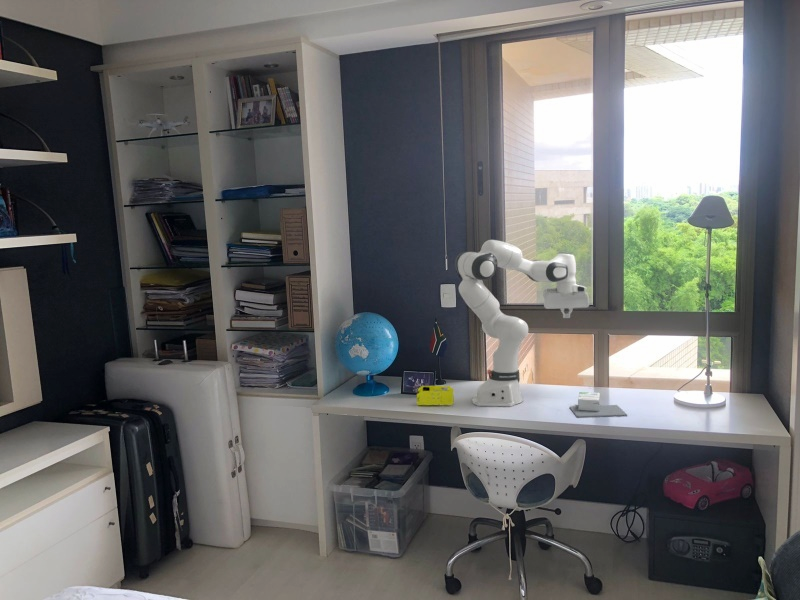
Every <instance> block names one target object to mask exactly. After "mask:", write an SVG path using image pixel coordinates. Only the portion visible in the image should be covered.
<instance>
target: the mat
mask: <svg viewBox="0 0 800 600" xmlns="http://www.w3.org/2000/svg"><path fill="white" fill-rule="evenodd" d="M569 409H570V410H571V411H572V413H573V414H574V415H575V417H576V418H578V419H579V418H601V417H602V418H607V417H627V416H628V413H626V412H625V411H624V410H623V409H622V408H621V407H620V406H619V405H618V404H607V405H606V404H605V405H603V404H602V405H601V404H600V406H599V411H587V410H578V405H575V406H571V405H570V406H569Z"/></svg>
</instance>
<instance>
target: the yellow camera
mask: <svg viewBox="0 0 800 600" xmlns="http://www.w3.org/2000/svg"><path fill="white" fill-rule="evenodd" d="M454 397H455V396H454V388H453V387H452V386H450V385H420V387H419V388H417V393H416V405H417V406H433V407H434V406H445V407H446V406H453V405H454V402H455V401H454Z"/></svg>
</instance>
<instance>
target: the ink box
mask: <svg viewBox="0 0 800 600" xmlns="http://www.w3.org/2000/svg"><path fill="white" fill-rule="evenodd" d="M600 395H601V394H600V392H585V391H584V392H583V391H582V392H579V394H578V397H577V406H578V410H587V411H599V406H600V405H601V396H600Z"/></svg>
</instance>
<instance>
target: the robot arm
mask: <svg viewBox="0 0 800 600" xmlns="http://www.w3.org/2000/svg"><path fill="white" fill-rule="evenodd" d="M523 255H524V254H523V251H522V250H521V249H520V248H519V247H518V246H516V245H514V244H511V243H508V242H505V241H502V240H497V239H488V240H486V241H484V243H483V244H482V245H481V249H480V251H478V252H475V251H468V250H467V251H463V252H461V253H459V254H458V255H457V256H456V258H455V261H454V265H455V269H456V271H457V275H458V278H459V279H460V280H462V281H460V283H459V285H458V292H459V294H460V296H461V298H462V299H463V301H464V302H465V304H466V305H467V306H468V307H469V308H470V309H471V311H472V312H473V313H474V314H475V315H476V316H477V317H478V319H479V320H480V321H481V330H482V331H483V333H485V335H487V336H489V337H490V338H493V339H497V340H499V341H498V345H497V348H496V349H495V350H494V351H493V353H492V370H491V369H488V370H487V371H486V373H487V375H488V379H487V380H485V381H484V382H483V383H481V384H480V385H479V386H478V388H477V391H476V395H474V396H473V397H472V399H471V400H472V401H471V402H472V403H473V405H475V406H477V407H513V406H514V405H517V404H520V403H522V402H524V399H523V397H522V394H521V388H520V379H521V377H520V369H519V351H520V347H521V345H522V342H523V341H524V340H525V339H526V338H527V336H528V334H529V325H528V323H527V322H526V321H525V320H523V319H522V318H519V317H518V316H512V315H507V314H505V313H503V312H502V311H501V309H500V301H498V299H497V298H496V297H495V296H494V294H493V293H492V292H491V291H490V290H489V289H488V287H486V286H485V284H484V282H483V281H487V280H490V279H491V278H492V277H493V276H494V275H495V272H496V271H497V270H496V269H497V267H498V268H501V269H504V270H509V271H517V272H520V273H523V274H525V275H526V276H527V277H528V278H529V280H530V281H532V282H538V283H539V282H541V283H542V282H545V283H556V287H554V288H546V289H545V290H543V298H544V301H543V306H544V309H546V310H549V309H550V310H552V309H553V310H555V309H560V312H561V313H562V318H563V319H570V318H571V314H572V312H573V311H574V310H573V309H579V308H580V309H582V308H584V309H585V308H589V306H590V297H589V293H588V292H587V289H588V287H586V286H584V285H581V284H577V278H576V274H577V264H576V262H577V261H576V257H575V255H574V254H572V253H570V252H569V253H568V252H558V253H557V255H556V256H554V257H553V258H552V259H549V260H541V259H533V260H529V259H527V258H523ZM565 309H568V312H567V313H565Z"/></svg>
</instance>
